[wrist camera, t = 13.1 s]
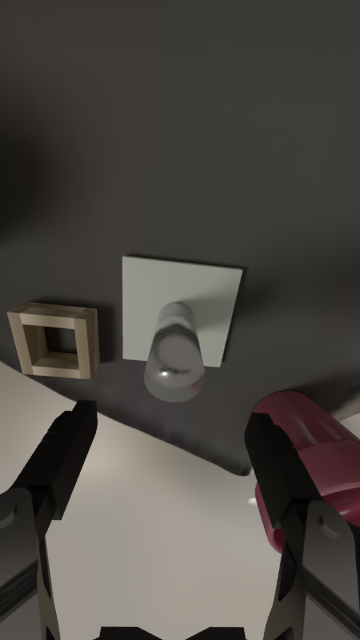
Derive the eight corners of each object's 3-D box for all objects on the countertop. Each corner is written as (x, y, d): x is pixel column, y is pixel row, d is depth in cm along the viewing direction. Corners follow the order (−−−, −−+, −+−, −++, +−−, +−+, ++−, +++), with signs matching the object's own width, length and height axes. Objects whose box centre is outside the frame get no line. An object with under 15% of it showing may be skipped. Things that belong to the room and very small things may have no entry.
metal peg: (157, 332, 23) (142, 399, 14) (159, 299, 21) (145, 350, 12) (191, 336, 23) (200, 404, 14) (196, 303, 21) (210, 356, 12)
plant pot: (285, 357, 26) (376, 463, 14) (351, 404, 29) (468, 522, 17) (213, 421, 30) (236, 541, 18) (277, 455, 34) (330, 575, 22)
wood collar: (39, 358, 25) (22, 373, 23) (28, 302, 22) (7, 311, 20) (100, 363, 26) (90, 379, 23) (96, 308, 23) (85, 319, 20)
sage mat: (125, 354, 25) (123, 358, 24) (125, 255, 20) (122, 256, 19) (218, 362, 26) (219, 367, 25) (239, 268, 21) (242, 270, 20)
